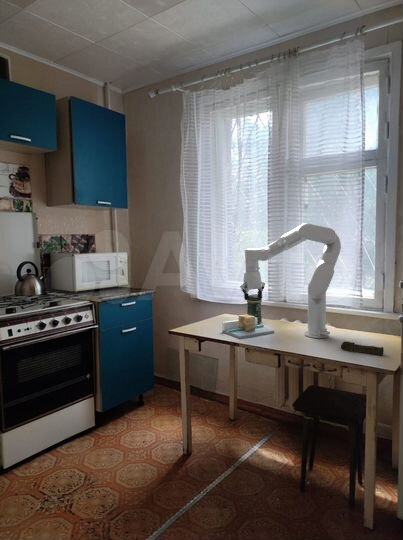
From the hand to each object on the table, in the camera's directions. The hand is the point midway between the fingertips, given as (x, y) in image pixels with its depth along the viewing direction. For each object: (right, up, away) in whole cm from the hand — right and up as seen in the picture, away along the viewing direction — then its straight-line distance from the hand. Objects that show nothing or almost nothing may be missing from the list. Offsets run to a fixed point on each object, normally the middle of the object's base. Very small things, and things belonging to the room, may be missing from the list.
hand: (253, 299), depth 224 cm
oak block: (-4, -18, +2) cm, 18 cm away
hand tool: (+46, -23, -41) cm, 66 cm away
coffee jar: (+4, -18, +25) cm, 31 cm away
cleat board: (-3, -20, +1) cm, 20 cm away
